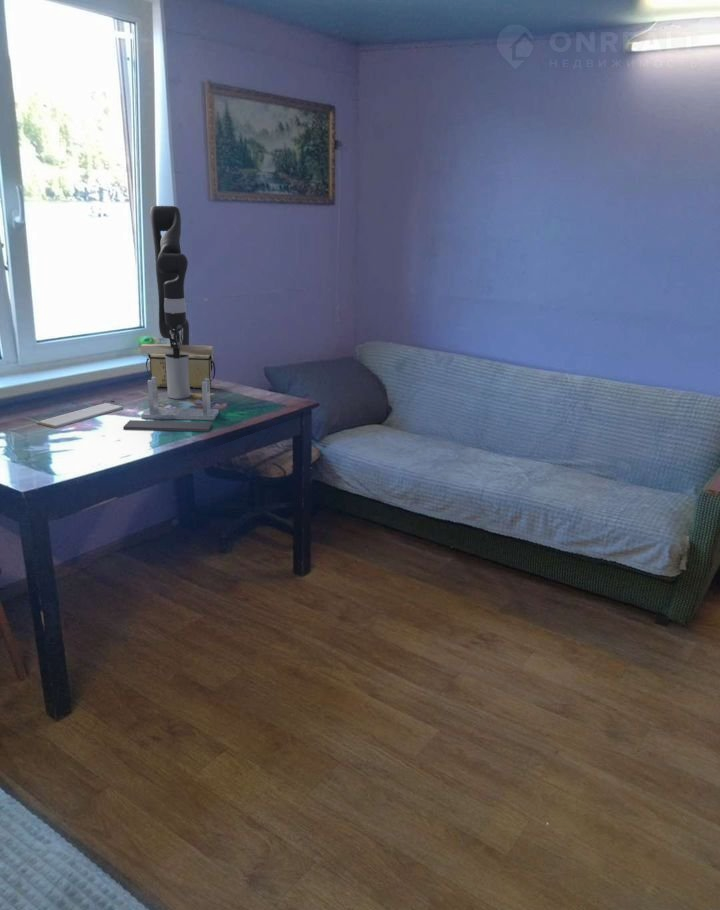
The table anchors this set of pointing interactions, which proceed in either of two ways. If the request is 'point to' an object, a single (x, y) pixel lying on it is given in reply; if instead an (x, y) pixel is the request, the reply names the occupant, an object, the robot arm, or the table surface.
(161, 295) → the robot arm
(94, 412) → the baseboard molding
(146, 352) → the birch rail
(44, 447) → the table surface
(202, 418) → the hook rack
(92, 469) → the table surface
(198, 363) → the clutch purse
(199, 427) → the rubber mat
